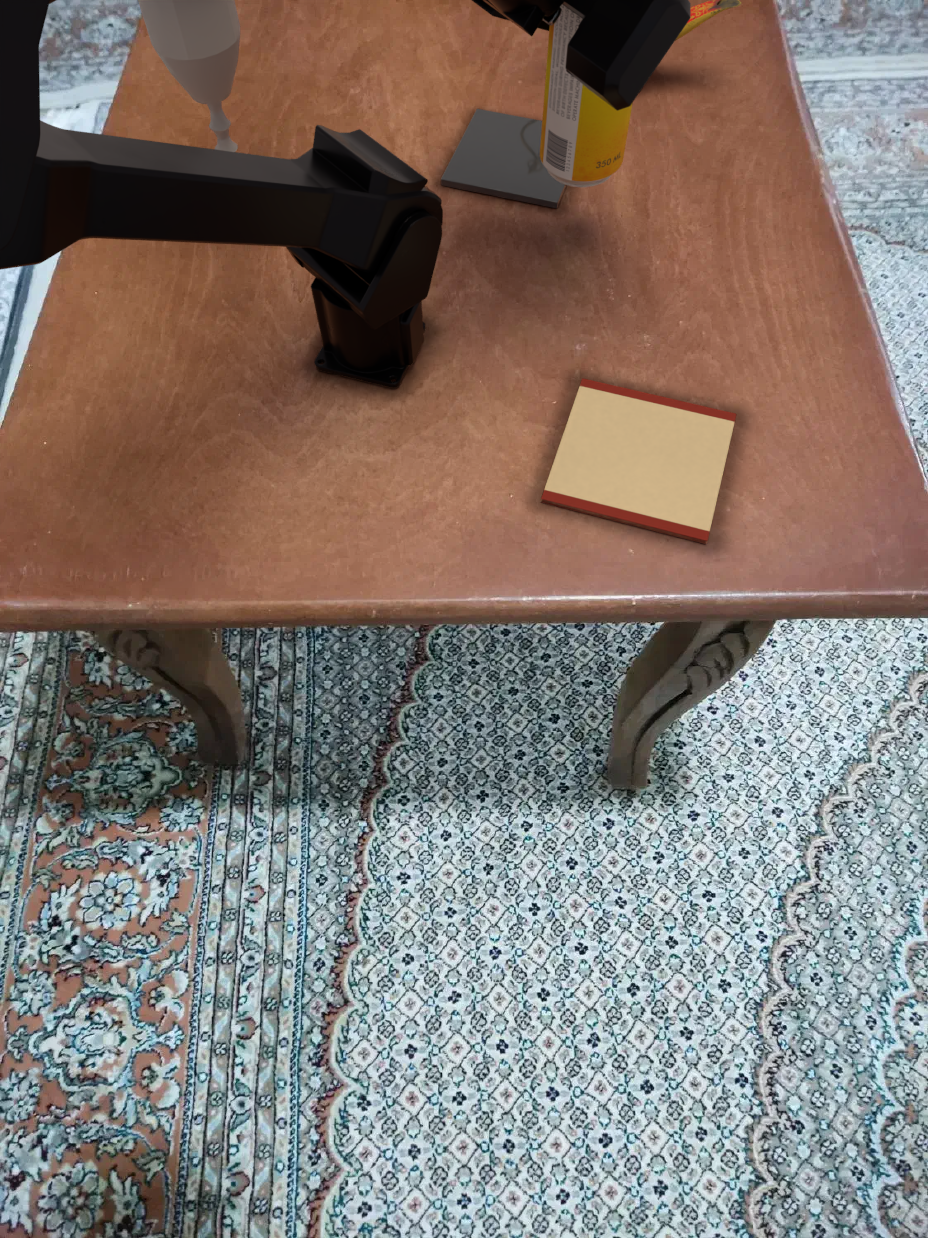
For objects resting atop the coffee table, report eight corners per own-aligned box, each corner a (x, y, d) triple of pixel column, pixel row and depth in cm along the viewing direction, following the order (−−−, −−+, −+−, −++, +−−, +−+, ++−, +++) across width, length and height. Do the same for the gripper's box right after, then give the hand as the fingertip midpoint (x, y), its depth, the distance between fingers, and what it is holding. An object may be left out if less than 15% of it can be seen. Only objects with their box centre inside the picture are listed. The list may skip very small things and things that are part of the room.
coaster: (440, 185, 73) (440, 178, 73) (476, 114, 78) (476, 107, 77) (557, 208, 72) (557, 202, 71) (587, 135, 76) (587, 128, 76)
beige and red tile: (540, 502, 58) (541, 498, 58) (581, 381, 63) (582, 377, 63) (706, 544, 57) (707, 540, 56) (735, 417, 61) (736, 413, 61)
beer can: (637, 159, 65) (680, -78, 52) (592, 203, 63) (625, -34, 50) (568, 129, 67) (593, -108, 54) (522, 170, 65) (536, -67, 52)
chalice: (221, 244, 70) (147, -3, 54) (181, 199, 73) (100, -49, 57) (300, 207, 72) (251, -42, 56) (258, 164, 75) (200, -84, 59)
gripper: (707, -207, 39) (801, -11, 52) (459, -333, 46) (595, -133, 59) (551, 42, 44) (673, 165, 56) (349, -107, 51) (497, 32, 64)
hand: (609, 50), depth 59 cm, fingers closed on beer can, 6 cm apart
